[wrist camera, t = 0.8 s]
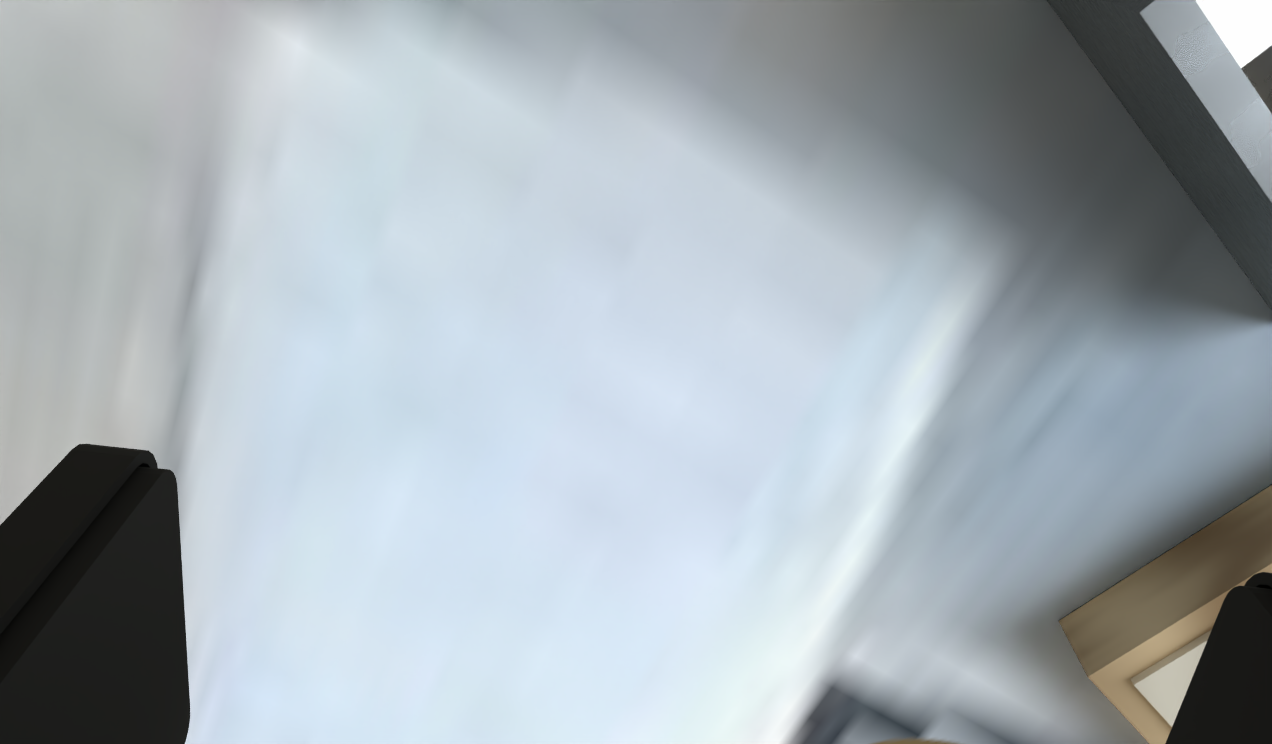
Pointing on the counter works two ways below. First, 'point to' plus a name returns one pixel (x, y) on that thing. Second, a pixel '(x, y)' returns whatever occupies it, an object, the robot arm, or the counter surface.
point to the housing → (1197, 103)
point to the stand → (1168, 616)
